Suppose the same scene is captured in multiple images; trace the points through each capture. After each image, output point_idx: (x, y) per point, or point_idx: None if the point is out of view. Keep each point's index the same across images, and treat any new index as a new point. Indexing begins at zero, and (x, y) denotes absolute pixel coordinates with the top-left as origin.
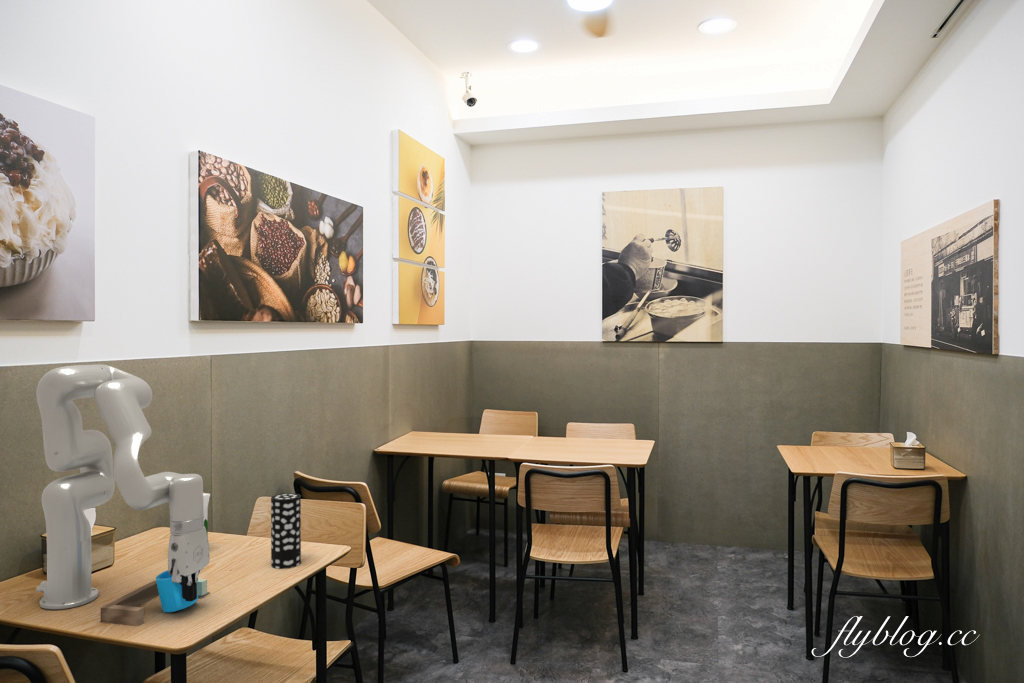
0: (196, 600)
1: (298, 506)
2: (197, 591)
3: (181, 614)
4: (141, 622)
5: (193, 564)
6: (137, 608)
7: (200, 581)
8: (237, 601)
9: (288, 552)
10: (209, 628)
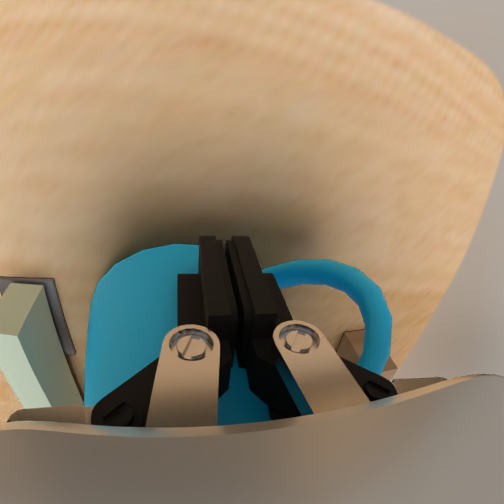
0: (155, 250)
1: None
2: (43, 321)
3: (263, 248)
4: (357, 334)
5: (476, 498)
6: None
7: (16, 348)
8: (37, 50)
9: None
10: (415, 25)
